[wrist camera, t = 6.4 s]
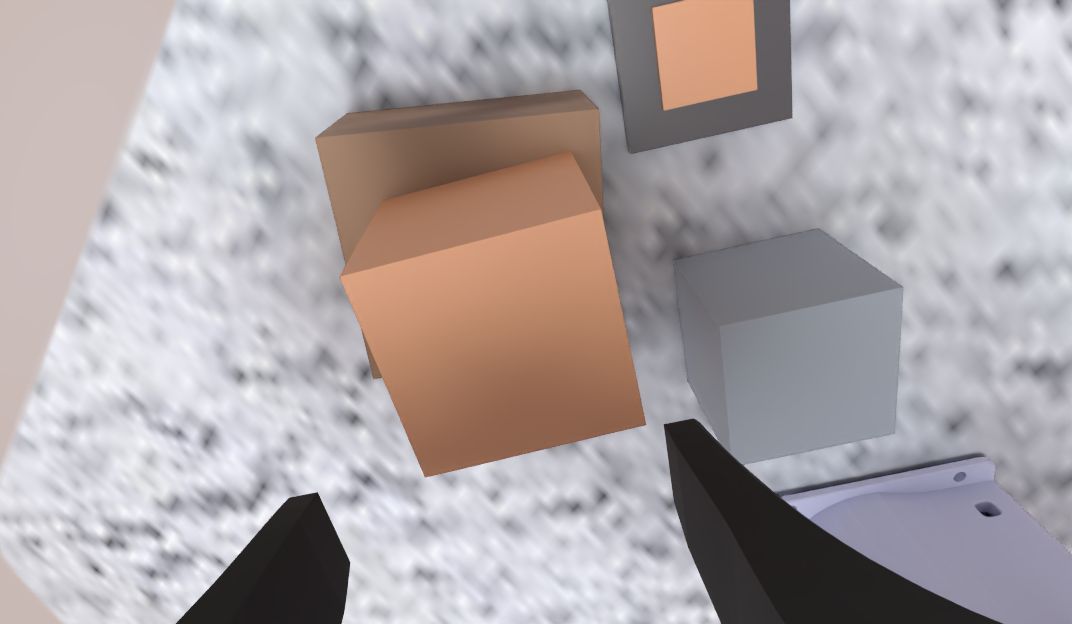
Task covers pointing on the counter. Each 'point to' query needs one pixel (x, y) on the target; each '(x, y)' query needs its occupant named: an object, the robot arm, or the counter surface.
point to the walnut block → (448, 151)
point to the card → (700, 67)
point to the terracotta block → (496, 315)
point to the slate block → (790, 344)
